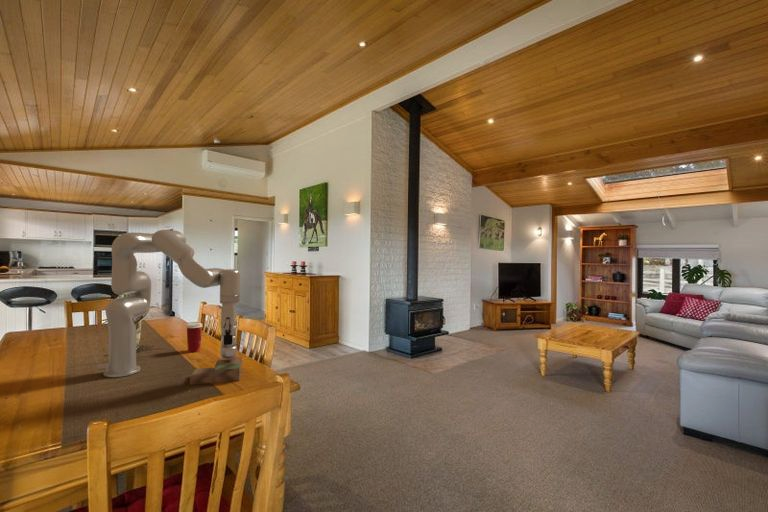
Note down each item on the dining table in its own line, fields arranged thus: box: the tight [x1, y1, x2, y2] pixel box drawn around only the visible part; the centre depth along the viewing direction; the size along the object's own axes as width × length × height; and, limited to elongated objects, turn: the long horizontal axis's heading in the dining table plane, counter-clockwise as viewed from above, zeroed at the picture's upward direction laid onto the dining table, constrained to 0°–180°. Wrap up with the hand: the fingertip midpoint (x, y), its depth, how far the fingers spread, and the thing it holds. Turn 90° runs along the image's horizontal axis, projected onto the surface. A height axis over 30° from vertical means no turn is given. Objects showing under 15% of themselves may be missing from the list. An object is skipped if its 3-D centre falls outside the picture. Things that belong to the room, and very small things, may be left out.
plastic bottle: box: [219, 317, 239, 358], centre depth 150 cm, size 6×7×20 cm
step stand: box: [189, 356, 243, 386], centre depth 148 cm, size 18×10×7 cm, turn 107°
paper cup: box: [185, 322, 203, 353], centre depth 186 cm, size 8×8×14 cm
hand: (228, 342), depth 150 cm, fingers closed on plastic bottle, 5 cm apart
